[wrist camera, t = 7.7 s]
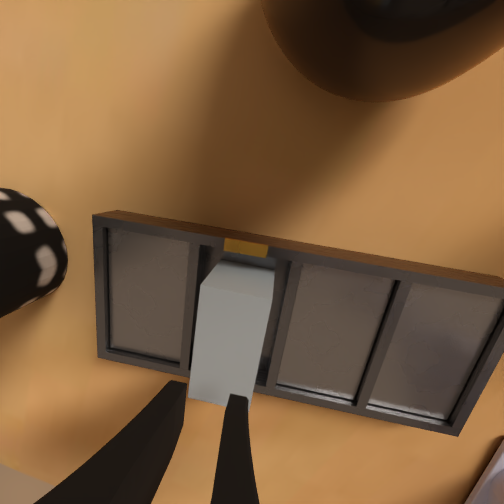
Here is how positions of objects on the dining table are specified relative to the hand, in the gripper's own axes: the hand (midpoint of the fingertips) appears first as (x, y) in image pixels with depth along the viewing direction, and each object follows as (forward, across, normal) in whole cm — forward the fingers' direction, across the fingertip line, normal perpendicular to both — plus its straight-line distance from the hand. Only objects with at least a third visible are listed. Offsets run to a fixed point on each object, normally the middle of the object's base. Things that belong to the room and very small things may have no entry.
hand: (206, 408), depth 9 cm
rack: (+8, -3, 0) cm, 9 cm away
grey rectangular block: (+8, 0, 0) cm, 8 cm away
